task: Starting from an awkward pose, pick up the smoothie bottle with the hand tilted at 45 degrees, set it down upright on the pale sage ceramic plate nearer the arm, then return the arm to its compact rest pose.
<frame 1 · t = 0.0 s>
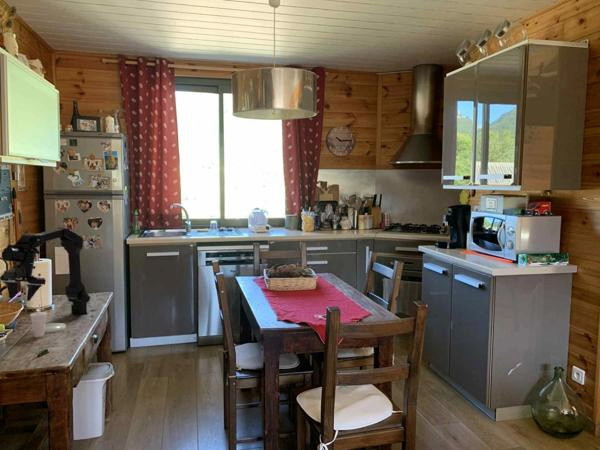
hand: (19, 299, 199), 15 cm above the table, tool pointing down, fingers open, 9 cm apart
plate: (52, 328, 210), on the table
smoothie: (39, 336, 200), on the table
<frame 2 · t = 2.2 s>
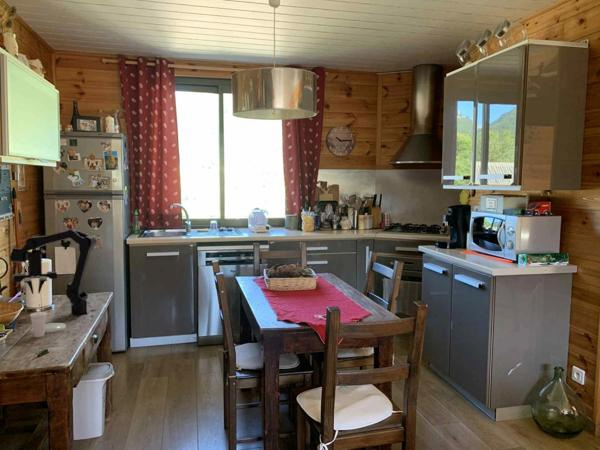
hand: (35, 293, 231), 10 cm above the table, tool pointing down, fingers closed
nothing on the table moved.
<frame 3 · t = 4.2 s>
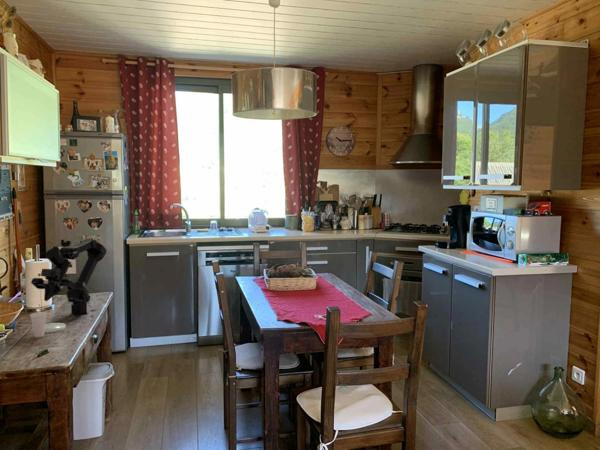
hand: (45, 300, 207), 13 cm above the table, tool tilted 45°, fingers closed
nothing on the table moved.
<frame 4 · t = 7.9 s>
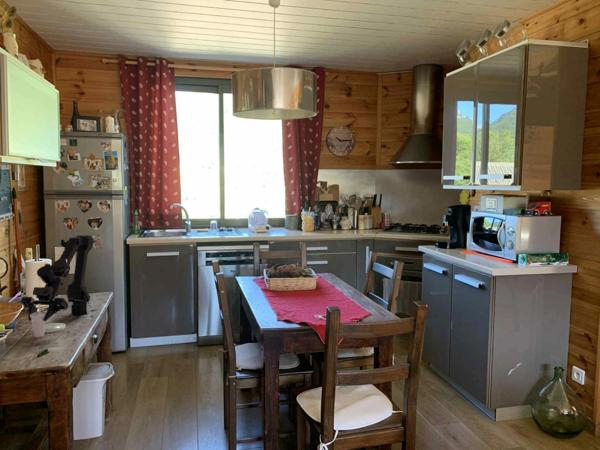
hand: (36, 320, 198), 7 cm above the table, tool tilted 45°, fingers closed on smoothie, 6 cm apart
smoothie: (39, 336, 200), on the table, touching gripper
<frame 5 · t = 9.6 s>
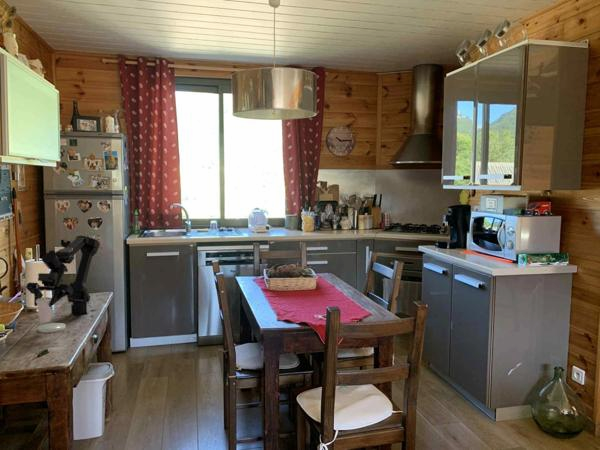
hand: (42, 305, 202), 12 cm above the table, tool tilted 45°, fingers closed on smoothie, 6 cm apart
smoothie: (45, 321, 204), point 5 cm above the table, touching gripper
when the fingers open (9 cm above the table, at t = 11.4 s): smoothie drops 1 cm, resting on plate.
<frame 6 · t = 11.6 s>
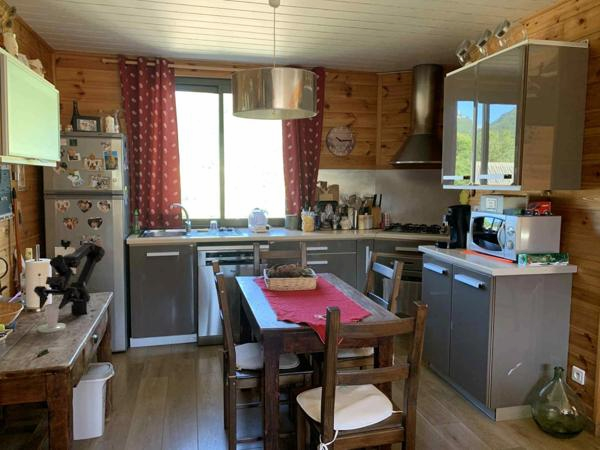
hand: (49, 308, 207), 10 cm above the table, tool tilted 45°, fingers open, 8 cm apart
smoothie: (52, 326, 210), point 1 cm above the table, touching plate
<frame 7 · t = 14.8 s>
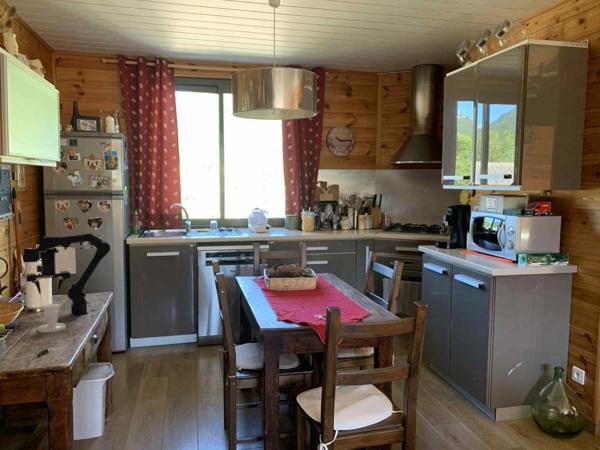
hand: (48, 293, 228), 11 cm above the table, tool pointing down, fingers open, 7 cm apart
nothing on the table moved.
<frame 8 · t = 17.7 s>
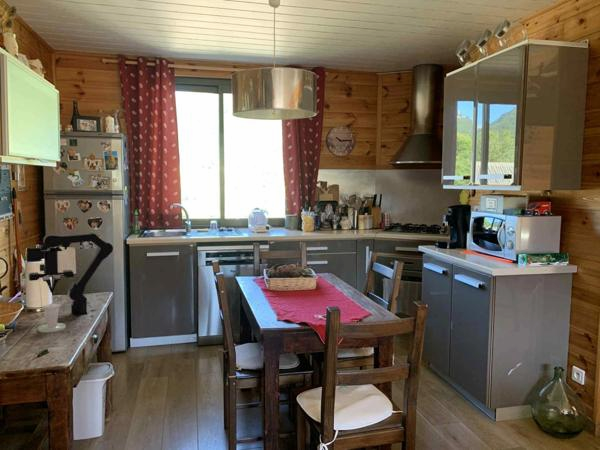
hand: (51, 292, 226), 12 cm above the table, tool pointing down, fingers closed
nothing on the table moved.
at the end: smoothie 0.1 cm off-centre on the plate, point 0.8 cm above the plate's base; smoothie tilted 0°; the gripper is holding nothing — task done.
